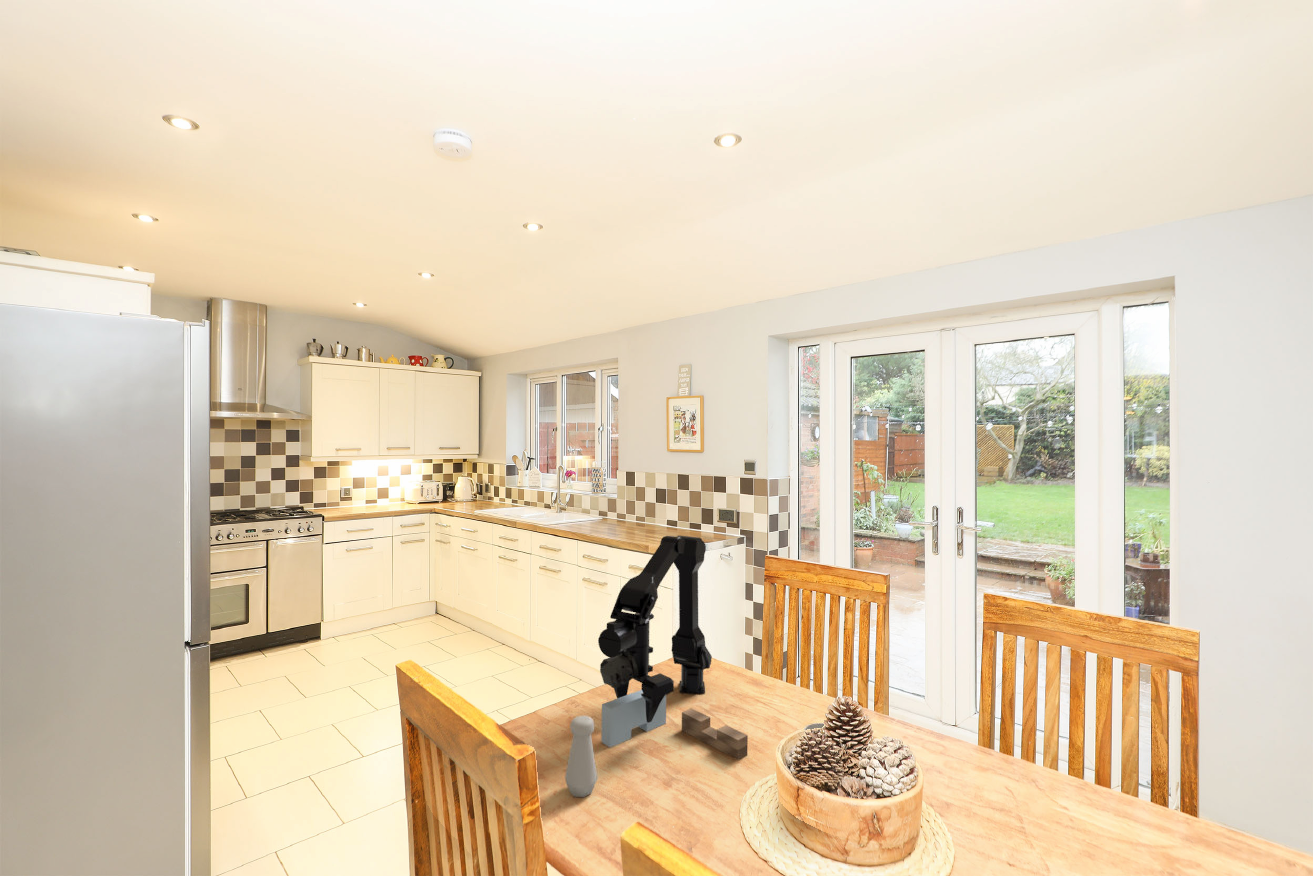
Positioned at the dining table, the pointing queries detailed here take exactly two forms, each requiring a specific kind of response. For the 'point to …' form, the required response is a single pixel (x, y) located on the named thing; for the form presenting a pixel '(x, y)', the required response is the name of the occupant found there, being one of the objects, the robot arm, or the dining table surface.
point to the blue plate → (628, 718)
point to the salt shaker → (581, 758)
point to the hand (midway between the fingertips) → (635, 714)
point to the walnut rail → (715, 734)
